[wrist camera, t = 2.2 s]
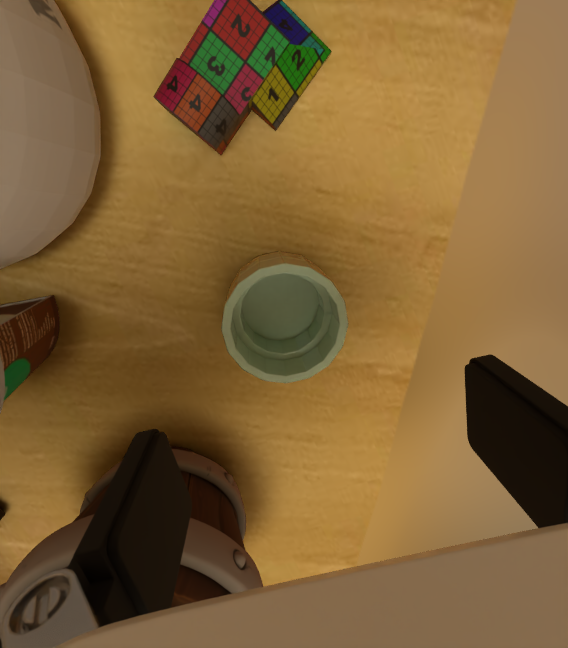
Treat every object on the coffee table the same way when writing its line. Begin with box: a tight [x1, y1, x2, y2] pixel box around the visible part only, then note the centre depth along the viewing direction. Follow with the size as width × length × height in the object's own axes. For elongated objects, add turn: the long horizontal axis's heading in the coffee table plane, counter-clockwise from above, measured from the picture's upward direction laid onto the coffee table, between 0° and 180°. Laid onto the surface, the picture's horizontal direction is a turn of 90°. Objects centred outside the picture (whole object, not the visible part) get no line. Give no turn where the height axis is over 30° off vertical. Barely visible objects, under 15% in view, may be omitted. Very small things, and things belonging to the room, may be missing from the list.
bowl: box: [221, 251, 348, 383], centre depth 22 cm, size 7×7×5 cm
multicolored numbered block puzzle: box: [153, 0, 331, 155], centre depth 18 cm, size 8×5×4 cm
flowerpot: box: [0, 446, 263, 638], centre depth 20 cm, size 14×15×20 cm
